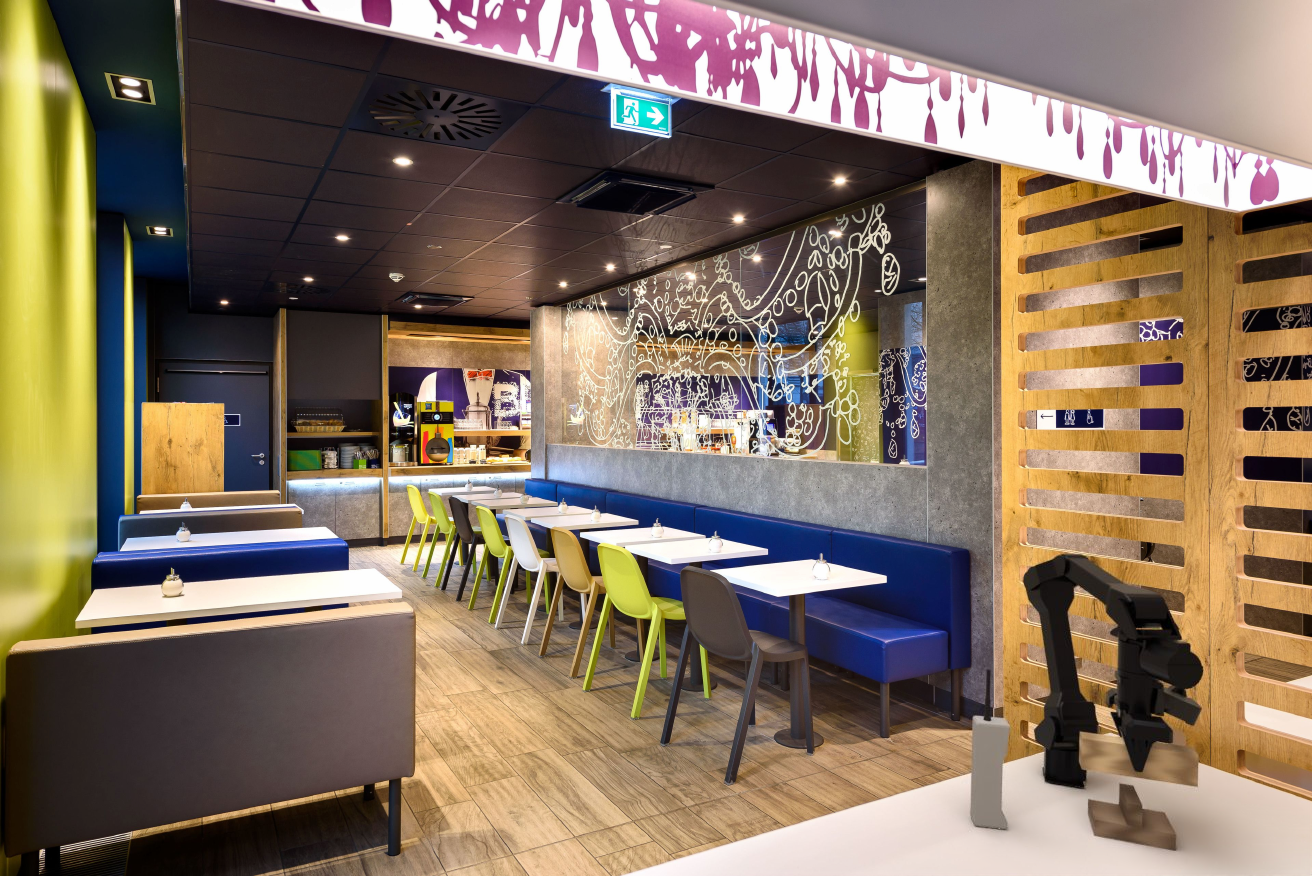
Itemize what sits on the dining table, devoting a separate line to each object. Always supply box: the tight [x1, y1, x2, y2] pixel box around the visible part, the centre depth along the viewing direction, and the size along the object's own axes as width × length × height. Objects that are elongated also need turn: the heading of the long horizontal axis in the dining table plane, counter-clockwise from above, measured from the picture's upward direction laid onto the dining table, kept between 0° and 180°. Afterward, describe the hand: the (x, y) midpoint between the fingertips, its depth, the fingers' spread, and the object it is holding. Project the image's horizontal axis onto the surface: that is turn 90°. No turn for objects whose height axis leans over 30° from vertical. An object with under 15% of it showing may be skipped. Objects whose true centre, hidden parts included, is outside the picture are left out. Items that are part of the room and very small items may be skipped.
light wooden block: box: [1079, 732, 1199, 788], centre depth 127 cm, size 16×4×5 cm, turn 69°
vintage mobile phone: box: [969, 668, 1011, 830], centre depth 128 cm, size 4×5×25 cm
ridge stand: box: [1087, 782, 1177, 851], centre depth 127 cm, size 11×8×6 cm
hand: (1135, 767), depth 127 cm, fingers closed on light wooden block, 3 cm apart
